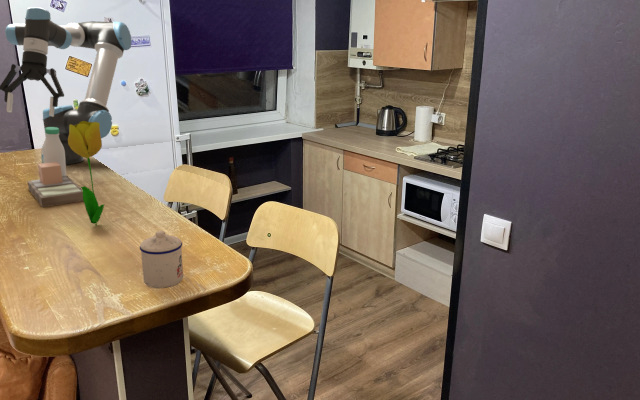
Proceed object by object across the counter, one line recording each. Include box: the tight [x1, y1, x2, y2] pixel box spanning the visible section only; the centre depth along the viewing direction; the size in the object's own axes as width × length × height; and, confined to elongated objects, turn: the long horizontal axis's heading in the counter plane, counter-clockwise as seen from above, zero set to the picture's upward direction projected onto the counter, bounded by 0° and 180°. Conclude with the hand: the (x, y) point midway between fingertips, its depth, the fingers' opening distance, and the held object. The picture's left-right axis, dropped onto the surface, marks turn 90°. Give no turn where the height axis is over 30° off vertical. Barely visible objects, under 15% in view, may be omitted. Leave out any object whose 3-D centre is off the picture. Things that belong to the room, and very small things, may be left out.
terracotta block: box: [37, 162, 63, 185], centre depth 184 cm, size 6×6×6 cm
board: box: [27, 175, 84, 208], centre depth 181 cm, size 24×13×3 cm, turn 37°
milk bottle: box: [40, 127, 67, 177], centre depth 191 cm, size 8×8×20 cm
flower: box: [68, 121, 105, 226], centre depth 149 cm, size 9×8×30 cm
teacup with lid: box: [139, 230, 184, 289], centre depth 120 cm, size 12×9×12 cm
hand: (30, 114), depth 185 cm, fingers open, 13 cm apart
